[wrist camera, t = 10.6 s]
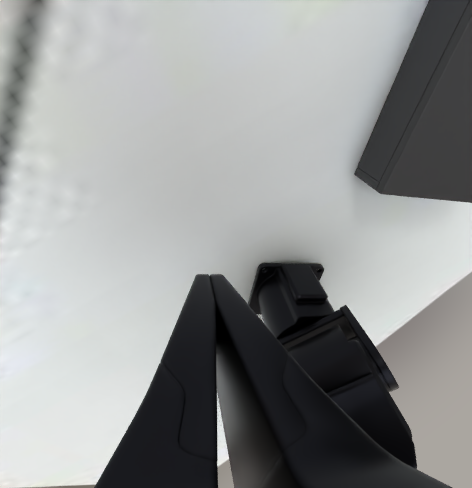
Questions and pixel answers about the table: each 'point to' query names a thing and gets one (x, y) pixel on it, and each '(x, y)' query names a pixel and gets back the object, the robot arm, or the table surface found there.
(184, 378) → the robot arm
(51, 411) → the table surface
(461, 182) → the lid
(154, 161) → the table surface
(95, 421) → the table surface
